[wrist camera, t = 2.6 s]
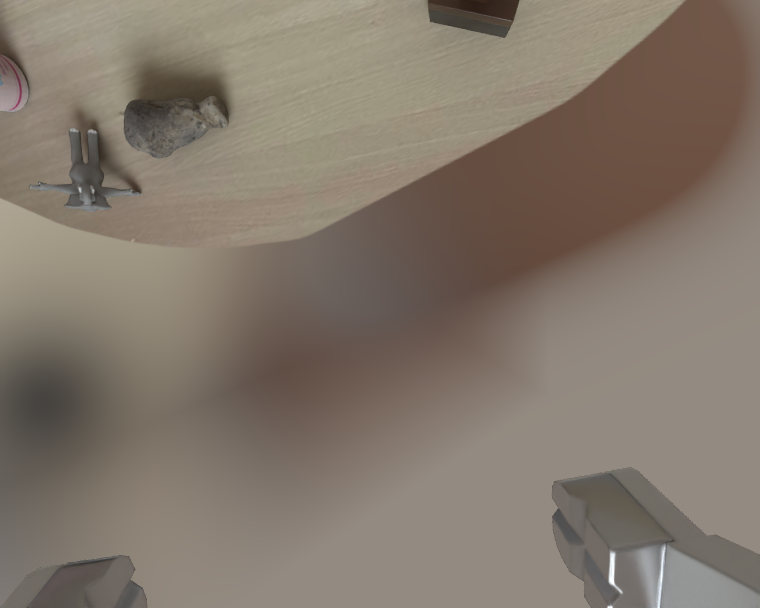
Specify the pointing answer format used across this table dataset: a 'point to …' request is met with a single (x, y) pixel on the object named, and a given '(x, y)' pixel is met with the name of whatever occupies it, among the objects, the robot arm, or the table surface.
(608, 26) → the table surface
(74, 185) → the elephant figurine
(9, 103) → the beverage can
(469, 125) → the table surface
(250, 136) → the table surface
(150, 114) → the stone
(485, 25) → the brush
